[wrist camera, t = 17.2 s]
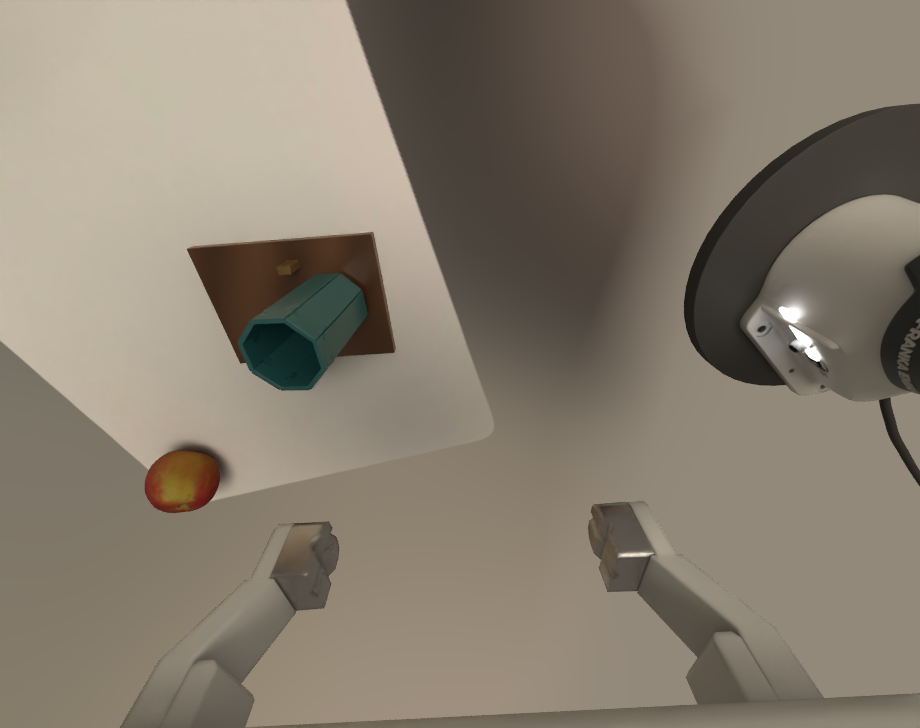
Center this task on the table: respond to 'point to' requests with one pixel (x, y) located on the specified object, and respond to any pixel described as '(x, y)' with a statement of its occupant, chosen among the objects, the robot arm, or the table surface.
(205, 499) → the apple
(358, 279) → the brown rectangular board
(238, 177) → the table surface
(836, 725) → the robot arm
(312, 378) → the teal hollow octagonal tube
